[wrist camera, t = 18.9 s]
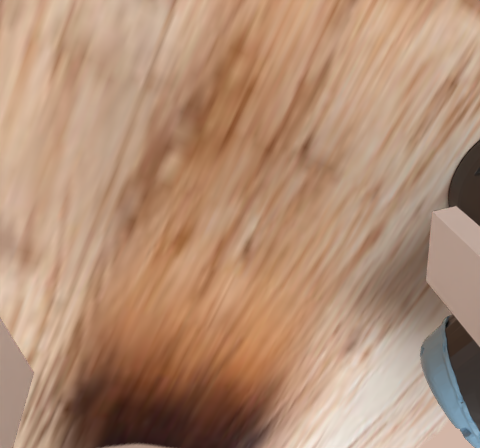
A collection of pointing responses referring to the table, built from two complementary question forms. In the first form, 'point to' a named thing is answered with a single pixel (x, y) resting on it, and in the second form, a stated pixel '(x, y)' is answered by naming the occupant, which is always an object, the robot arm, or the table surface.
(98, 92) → the table surface
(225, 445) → the table surface
